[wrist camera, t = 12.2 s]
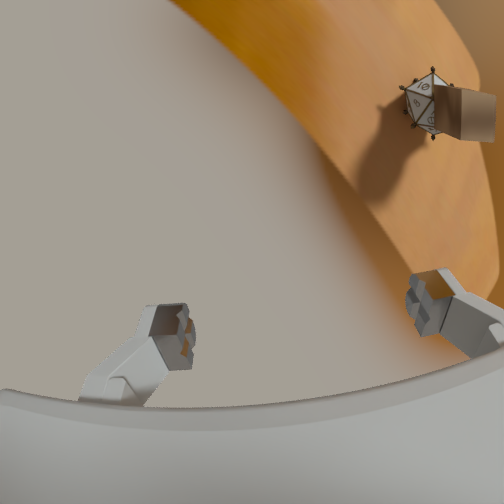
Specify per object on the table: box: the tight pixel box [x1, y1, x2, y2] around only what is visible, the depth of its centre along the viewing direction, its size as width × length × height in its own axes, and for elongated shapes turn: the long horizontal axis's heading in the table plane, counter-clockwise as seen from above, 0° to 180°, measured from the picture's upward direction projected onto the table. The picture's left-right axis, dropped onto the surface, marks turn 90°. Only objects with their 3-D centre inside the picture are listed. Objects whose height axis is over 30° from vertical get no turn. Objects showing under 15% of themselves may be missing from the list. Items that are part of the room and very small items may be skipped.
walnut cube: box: [434, 84, 496, 142], centre depth 23 cm, size 5×5×5 cm
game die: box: [399, 66, 454, 141], centre depth 29 cm, size 9×8×10 cm
